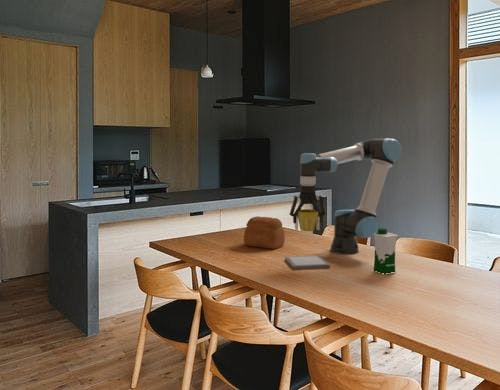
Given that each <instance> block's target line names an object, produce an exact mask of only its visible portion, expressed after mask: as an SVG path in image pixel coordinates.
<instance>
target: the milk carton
mask: <svg viewBox="0 0 500 390" xmlns="http://www.w3.org/2000/svg"><path fill="white" fill-rule="evenodd" d="M373 238H374V262H373V263H374V264H373V270H374V271H373V272H375V271H377V272H376V273H378V272H380V273H384V274H386V273H391V272H395V273H396V247H397V246H396V245H397V240H398V234H394V233H391V232H388V229H387V228H385V227H384V228H381V227H378V229H377V232H376V233H375V234H374V235H373ZM380 273H379V274H380Z"/></svg>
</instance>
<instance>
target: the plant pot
mask: <svg viewBox="0 0 500 390" xmlns="http://www.w3.org/2000/svg"><path fill="white" fill-rule="evenodd" d="M297 217H298V226H299V229H300V231H301V232H313V231H314V230H315V227H316V219H317V218H318V211H317V212H316V211H315V209H311V208H310V209H309V208H307V209H304V208H303V209H302V208H301V210H300V211H298V215H297Z"/></svg>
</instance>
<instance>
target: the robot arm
mask: <svg viewBox="0 0 500 390" xmlns="http://www.w3.org/2000/svg"><path fill="white" fill-rule="evenodd" d="M402 150H403V149H402V146H401V144H400V142H399V141H398V140H397V139H395V138H387V137H386V138H371V139H367V140H364V141H359V142H357V143H354V144H353V145H352V146H348V147H343V148H339V149H335V150H331V151H328V152H326V151H325V152H323V153H319V154H316V153H312V152H310V153H309V152H308V153H307V152H304V153H302V154H300V159H299V160H300V165H299V168H300V171H299V173H300V174H299V176H300V179H299V180H300V181H299V184H300V186H299V195H293V201H292V205H291V209H290V210H289V216H291V217H292V223H293V224H294V229H295V231H298V230H299V220H298V217H297V215H298V211H300V210H301V209H302V208H303V207H304V205H312V207H313V210H315V211H316V212H317V211H318V218H317V219H316V223H315V227H316V230H317V231H320V224H321V223H322V217H323V216H325V215H326V211H325V209H324V208H325V207H324V203H323V200H322V199H323V197H322V195H321V194H320V195H316V191H317V190H316V188H317V187H316V182H317V178H316V177H317V175H316V174H317V173H334V172H336V171H337V169H338V165H340V164H343V163H348V162H352V161H365V160H368V161H370V162H371V163H372V165H371V168H370V170H369V174H368V178H367V180H366V183H365V187H364V189H363V194H362V197H361V199H360V203H359V205H358V207H356V208H354V209H340V210H339V209H338V210H336V211H335V212H334V221H333V222H334V227H333V228H334V229H333V230H334V231H333V232H334V233H333V239H332V242H331V244H330V251H331V252H332V253H333V252H334V253H336V254H343V255H345V254H347V255H348V254H350V255H351V254H356V253H357V254H358V252H359V244H358V241H357V237H359V238H363V239H369V238H371V237H374V234H375V233H378V229H379V223H378V222H379V221H378V220H377V216H378V214H377V213H376V209H377V206H378V203H379V200H380V197H381V194H382V191H383V187H384V184H385V182H386V178H387V176H388V172H389V169H390V168H392V167H393V166H394V163H395V162H398V160H400V158H401V157H402V152H403V151H402ZM299 199H300V202H299V204H298V205H297V203H298V201H299ZM315 200H317V202H318V206H319V208H318V206H317V204H316V202H315Z"/></svg>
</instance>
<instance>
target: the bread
mask: <svg viewBox="0 0 500 390" xmlns="http://www.w3.org/2000/svg"><path fill="white" fill-rule="evenodd" d="M285 237H286V236H285V230H284V228H283V223H282V221H281V220H280V219H279V218H277V217H269V216H253V217H251V218H249V220H248V221H247V223H246V228H245V229H244V233H243V242H244V245H245V246H248V247H255V248H263V249H270V250H275V249H279V248H281V247H283V246H284V244H285V241H286V240H285V239H286V238H285Z"/></svg>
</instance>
